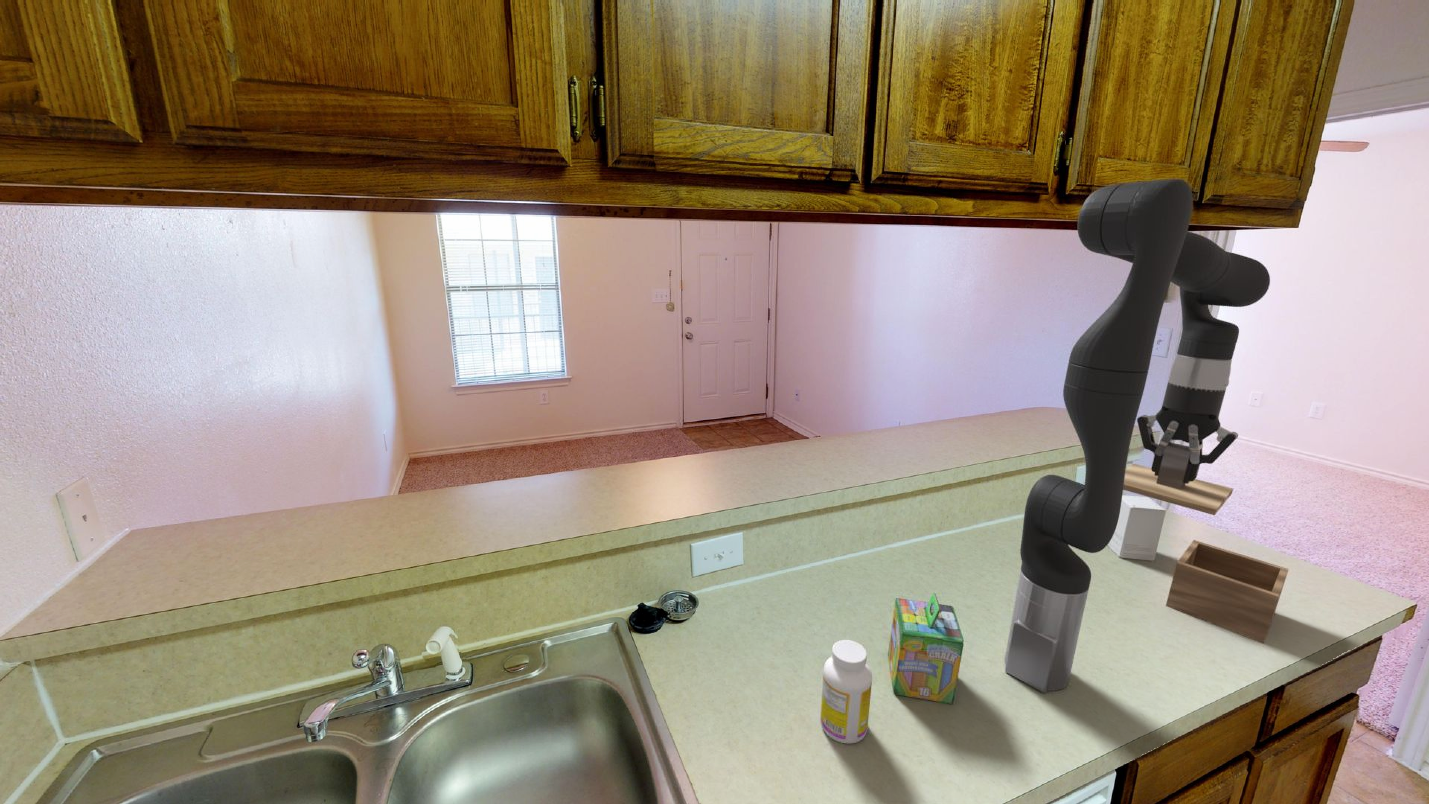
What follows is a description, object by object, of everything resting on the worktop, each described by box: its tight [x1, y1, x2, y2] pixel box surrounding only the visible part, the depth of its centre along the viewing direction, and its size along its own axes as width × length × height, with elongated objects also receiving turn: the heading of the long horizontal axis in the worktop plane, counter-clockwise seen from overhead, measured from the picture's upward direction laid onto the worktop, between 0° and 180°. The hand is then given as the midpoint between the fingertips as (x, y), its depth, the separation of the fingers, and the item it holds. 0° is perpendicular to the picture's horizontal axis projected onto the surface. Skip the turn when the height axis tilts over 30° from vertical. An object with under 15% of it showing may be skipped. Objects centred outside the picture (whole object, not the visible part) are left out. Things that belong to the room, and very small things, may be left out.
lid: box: [1123, 442, 1234, 516], centre depth 97 cm, size 15×15×8 cm
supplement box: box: [1107, 494, 1167, 562], centre depth 127 cm, size 7×7×13 cm
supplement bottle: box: [820, 639, 873, 744], centre depth 78 cm, size 7×7×13 cm
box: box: [1165, 539, 1289, 644], centre depth 106 cm, size 14×14×10 cm
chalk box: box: [887, 592, 965, 705], centre depth 87 cm, size 9×9×15 cm
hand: (1172, 478), depth 97 cm, fingers closed on lid, 3 cm apart
